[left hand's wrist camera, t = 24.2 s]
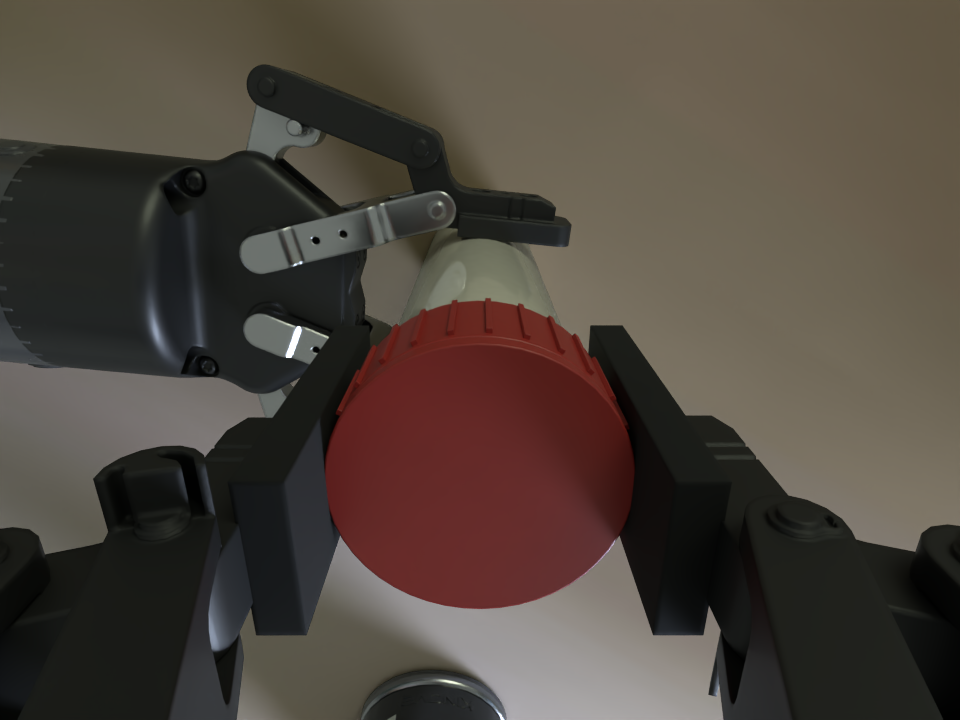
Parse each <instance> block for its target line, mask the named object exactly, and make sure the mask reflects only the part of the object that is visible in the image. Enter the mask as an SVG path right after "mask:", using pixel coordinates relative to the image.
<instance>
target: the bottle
mask: <svg viewBox="0 0 960 720" xmlns="http://www.w3.org/2000/svg"><path fill="white" fill-rule="evenodd" d="M457 233H458V229H453V228H443V229H440V230H438V231H437V232H436V234H435V236H434V238H433V240H432V243H431V245H430V248H429V250H428V253H427V255H426V258H425V260H424V263H423V265H422V268H421V270H420V273H419V275H418V278H417V280H416V283H415V285H414V288H413V290H412V293H411V295H410V298H409V300H408V303H407V305H406V308H405V310H404V313H403V315H402V318H401V320H400V323H399V325H398V326H400V325H402V324H403V323H405V322H406V321H407V320H409V319H411V318H413V317H415V316H417V315H419V313H420V310H422V309H426V311H428V310H431V309H434V308H436V307H439V306H443V305H447V304H451V303H452V300H458V302H466V301H485V298H491V301H496V302H502V303H508V304H513V305H517V306H518V303H520V304H523V305H524V308H526V309H529V310H532V311H534V312H536V313H539V314H541V315H543V316H545V317H548V316H549V315H550V316H552V317H553V318H554V320H555V323H557V324H558V325H560V326H561V324H560V321H559V319H558V316H557V314H556V311H555V309H554V306H553V304H552V301H551V299H550V296H549V294H548V291H547V289H546V286H545V284H544V282H543V279H542V277H541V274H540V272H539V269H538V267H537V264H536V262H535V259H534V257H533V254H532V252H531V249H530V247H529V244H526V243H516V242H506V241H496V240H489V239H476V238H466V237H457ZM561 327H562V326H561Z"/></svg>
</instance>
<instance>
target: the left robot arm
mask: <svg viewBox="0 0 960 720" xmlns="http://www.w3.org/2000/svg"><path fill="white" fill-rule="evenodd" d="M370 349H371V345H370V331H369V326H336V328H335V329H334V331H333V332H332V334H331V335H330V336H329V338H328V339H327V341H326V342H325V344H324V345H323V346H322V348H321V349H320V351H319V352H318V354H317V355H316V356H315V358H314V359H313V361H312V362H311V363H310V365H309V366H308V368H307V369H306V371H305V372H304V373H303V375H302V376H301V378H300V379H299V381H298V382H297V383H296V385H295V386H294V388H293V389H292V391H291V392H290V393H289V395H288V396H287V398H286V399H285V401H284V402H283V403H282V405H281V406H280V408H279V409H278V411H277V412H276V413H275V415H274V416H273V418H247V419H245V420H244V421H242V422H240V423H239V424H237V425H235V426H234V427H232V428H230V429H229V430H227V431H226V432H225V434H224V435H223V436H222V437H221V438H220V440H219V441H218V442H217V443H216V445H215V448H214V449H211V451H210V452H209V453H208V454H207V456H206V457H205V458H204V455H203V454H202V453H200V452H199V451H198V450H196V449H194V448H189V447H184V446H161V447H156V448H151V449H146V450H141V451H138V452H135V453H133V454H130V455H127V456H125V457H122V458H120V459H118V460H116V461H114V462H113V463H111V464H109V465H108V466H106V467H104V468H103V469H102V470H101V471H100V472H99V473H98V474H97V475H96V476H95V477H94V478H93V480H94V483H95V487H96V490H97V494H98V497H99V501H100V504H101V508H102V511H103V515H104V518H105V522H106V525H107V529H108V534H107V536H106V538H105V540H104V542H103V543H99V544H95V545H91V546H86V547H81V548H76V549H71V550H66V551H61V552H56V553H51V554H46V555H45V553H44V550H43V548H42V545H41V542H40V539H39V536H38V535H36V534H35V533H34V532H32V531H31V530H30V529H22V528H14V527H11V528H3V529H0V720H237V712H238V703H239V695H240V686H241V678H242V669H243V661H244V654H243V648H242V642H241V637H240V632H239V631H240V629H241V627H242V625H243V623H244V621H245V619H246V617H247V615H248V612H249V610H250V608H251V610H252V615H253V621H254V626H255V631H256V635H307V632H308V629H309V626H310V623H311V620H312V617H313V614H314V611H315V608H316V605H317V602H318V599H319V596H320V593H321V590H322V587H323V584H324V582H325V579H326V576H327V573H328V570H329V567H330V564H331V561H332V558H333V555H334V552H335V549H336V546H337V543H338V540H339V537H340V534H339V532H338V530H337V528H336V526H335V524H334V522H333V519H332V516H331V514H330V511H329V504H328V496H327V487H326V478H325V455H326V451H327V447H328V443H329V439H330V437H331V434H332V432H333V430H334V427H335V425H336V423H337V420H338V418H339V415H336V411H337V409H338V407H339V405H340V403H341V401H342V399H343V397H344V395H345V393H346V391H347V389H348V387H349V385H350V383H351V381H352V379H353V377H354V375H355V373H356V371H357V370H360V369H361V367H362V365H363V363H364V361H365V359H366V357H367V355H368V353H369V351H370ZM588 354H589V356H590V357H591V358H593V357H596V359H597V361H598V363H599V365H600V367H601V369H602V371H603V373H604V375H605V377H606V379H607V381H608V383H609V385H610V387H611V389H612V391H613V393H614V395H615V397H616V401H617V403H618V405H619V407H620V409H621V411H622V413H623V415H624V417H625V419H626V421H627V423H628V425H629V430H627V433H628V435H629V438H630V442H631V445H632V449H633V452H634V460H635V474H634V483H633V492H632V501H631V508H630V512H629V515H628V518H627V521H626V523H625V525H624V527H623V529H622V531H621V533H620V538H621V541H622V544H623V547H624V550H625V553H626V556H627V559H628V562H629V565H630V568H631V571H632V574H633V577H634V580H635V583H636V586H637V589H638V592H639V595H640V598H641V601H642V604H643V606H644V609H645V612H646V615H647V618H648V621H649V624H650V627H651V630H652V633H653V635H703V634H704V629H705V623H706V618H707V613H708V607H709V606H710V608H711V610H712V612H713V615H714V617H715V619H716V621H717V623H718V625H719V627H720V629H721V632H720V637H719V642H718V647H717V652H716V657H715V662H714V667H713V672H712V677H711V682H710V688H709V694H708V695H712V696H716V697H717V692H718V687H719V685H720V693H721V702H722V710H723V719H724V720H960V526H955V525H940V526H932V527H930V528H928V529H927V530H926V531H924V532H923V533H922V534H921V537H920V540H919V543H918V546H917V549H916V552H913V551H908V550H903V549H898V548H893V547H887V546H882V545H877V544H872V543H867V542H863V541H859V540H856V539H855V537H854V535H853V533H852V531H851V530H850V528H849V527H848V526H847V525H846V523H845V522H844V521H843V520H842V519H841V518H840V517H838V516H837V515H835V514H834V513H833V512H831V511H830V510H828V509H827V508H825V507H822V506H820V505H818V504H815V503H813V502H811V501H808V500H805V499H801V498H797V497H792V496H788V495H787V493H786V492H785V491H784V490H783V489H782V487H781V486H780V485H779V484H778V483H777V481H776V480H775V479H774V478H773V476H772V475H771V474H770V473H769V472H768V470H767V469H766V468H765V467H764V466H763V464H762V463H761V462H760V461H759V460H756V456H755V455H754V453H753V452H752V451H751V450H750V449H749V447H746V446H745V443H744V441H743V440H742V439H741V438H740V437H739V435H738V434H737V433H736V432H735V430H734V429H733V428H731V427H729V426H728V425H726V424H724V423H723V422H721V421H720V420H718V419H716V418H715V417H713V416H686V415H685V414H684V413H683V411H682V410H681V408H680V407H679V405H678V404H677V403H676V401H675V400H674V398H673V397H672V396H671V394H670V393H669V391H668V390H667V388H666V387H665V386H664V384H663V383H662V381H661V380H660V378H659V377H658V376H657V374H656V373H655V371H654V370H653V368H652V367H651V366H650V364H649V363H648V361H647V360H646V358H645V357H644V356H643V354H642V353H641V351H640V350H639V348H638V347H637V346H636V344H635V343H634V341H633V340H632V338H631V337H630V336H629V334H628V333H627V331H626V330H625V328H624V327H623V326H590V339H589V352H588Z"/></svg>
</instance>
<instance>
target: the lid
mask: <svg viewBox="0 0 960 720" xmlns="http://www.w3.org/2000/svg"><path fill="white" fill-rule="evenodd" d="M336 415H339V418H338V420H337V423H336V425H335V427H334V430H333V432H332V434H331V437H330V439H329V443H328V447H327V451H326V455H325V478H326V487H327V496H328V504H329V511H330V514H331V516H332V519H333V522H334V524H335V526H336V528H337V530H338V532H339V534H340V535H341V537H342V539H343V541H344V542H345V543H346V545H347V546H348V547H349V549H350V550H351V551H352V553H353V554H354V555H355V556H356V557H357V558H358V559H359V560H360V561H361V562H362V563H363V564H364V565H365V566H366V567H367V568H368V569H369V570H370V571H372V572H373V573H374V574H375V575H377V576H378V577H379V578H381V579H382V580H384V581H385V582H387V583H388V584H390V585H392V586H393V587H395V588H397V589H399V590H401V591H403V592H405V593H407V594H409V595H412V596H414V597H417V598H420V599H423V600H425V601H429V602H433V603H437V604H441V605H445V606H451V607H459V608H472V609H488V608H502V607H508V606H514V605H519V604H523V603H527V602H530V601H534V600H537V599H540V598H542V597H545V596H548V595H550V594H553V593H555V592H557V591H559V590H560V589H562V588H564V587H566V586H568V585H570V584H571V583H573V582H574V581H576V580H577V579H579V578H580V577H582V576H583V575H584V574H586V573H587V572H588V571H589V570H590V569H591V568H593V567H594V566H595V565H596V564H597V563H598V562H599V561H600V560H601V559H602V558H603V557H604V555H605V554H606V553H607V552H608V551H609V550H610V548H611V547H612V545H613V544H614V542H615V541H616V540H617V538H618V537H619V535H620V533H621V531H622V529H623V527H624V525H625V523H626V521H627V518H628V515H629V512H630V508H631V501H632V492H633V483H634V474H635V460H634V452H633V449H632V445H631V442H630V438H629V435H628V433H627V430H629V425H628V423H627V421H626V419H625V417H624V415H623V413H622V411H621V409H620V407H619V405H618V403H617V401H616V397H615V395H614V393H613V391H612V389H611V387H610V385H609V383H608V381H607V379H606V377H605V375H604V373H603V371H602V369H601V367H600V365H599V363H598V361H597V359H596V357H593V358H591V357H590V356H589V354H588V353H587V351H586V350H585V349H584V348H583V345H582V343H581V341H580V339H579V337H578V336H577V335H576V334H574V335H573V336H572V335H571V334H570V333H568V332H567V331H566V330H565V329H564V328H563V327H561V326H560V325H558V324H557V323H555V320H554V318H553V317H552V316H550V315H549V316H548V317H545V316H543V315H541V314H539V313H536V312H534V311H532V310H529V309H526V308H524V305H523V304H520V303H518V306H517V305H513V304H508V303H502V302H496V301H491V298H485V301H466V302H458V300H452V303H451V304H447V305H443V306H439V307H436V308H434V309H431V310H428V311H426V309H422V310H420V313H419V315H417V316H415V317H413V318H411V319H409V320H407V321H406V322H405V323H403V324H402V325H400V326H398V324H396V325H394V326H393V327H392V329H391V332H390V334H389V335H388V336H387V337H386V338H384V339H383V340H382V341H381V343H380V344H379V345H378V346H377V347H376V346H375V345H373V346H372V347H371V349H370V351H369V353H368V355H367V357H366V359H365V361H364V363H363V365H362V367H361V369H360V370H357V371H356V373H355V375H354V377H353V379H352V381H351V383H350V385H349V387H348V389H347V391H346V393H345V395H344V397H343V399H342V401H341V403H340V405H339V407H338V409H337V411H336Z"/></svg>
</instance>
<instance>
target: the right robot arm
mask: <svg viewBox="0 0 960 720" xmlns="http://www.w3.org/2000/svg"><path fill="white" fill-rule="evenodd" d="M247 90H248V93H249V96H250V97H251V99H252V100H253V101H254V102H255V103H256V108H255V112H254V117H253V121H252V126H251V130H250V135H249V140H248V144H247V149H246V150H245V151H239V152H236V153H233V154H231V155H229V156H227V157H225V158H223V159H221V160H200V159H191V158H181V157H172V156H162V155H153V154H143V153H134V152H124V151H114V150H105V149H96V148H86V147H76V146H64V145H55V144H46V143H37V142H28V141H19V140H9V139H0V361H4V362H15V363H25V364H28V365H32V366H34V367H38V368H61V367H70V368H81V369H92V370H102V371H113V372H124V373H135V374H146V375H157V376H168V377H180V378H194V377H217V378H221V379H224V380H227V381H229V382H232V383H234V384H236V385H237V386H239V387H241V388H242V389H244V390H246V391H249V392H252V393H256V394H258V396H259V399H260V402H261V405H262V408H263V411H264V414H265V417H266V418H273V416H274V415H275V413H276V412H277V411H278V409H279V408H280V406H281V405H282V403H283V402H284V401H285V399H286V398H287V396H288V395H289V393H290V392H291V391H292V389H293V388H294V387H293V386H292V385H291V384H290V383H291V382H293V381H295V380H296V379H298V378H300V377H301V376H302V375H303V373H304V372H305V371H306V369H307V368H308V366H309V365H310V363H311V362H312V361H313V359H314V358H315V356H316V355H317V354H318V352H319V351H320V349H321V348H322V346H323V345H324V344H325V342H326V341H327V339H328V338H329V336H330V335H331V334H332V332H333V331H334V329H335V328H336V326H369V331H370V345H371V347H372V346H373V345H375V346H376V347H377V346H378V345H379V344H380V343H381V341H382V340H383V339H384V338H386V337H387V336H388V335H389V334H390V332H391V329H392V327H391V326H390V325H388V324H386V323H384V322H382V321H380V320H377V319H375V318H372V317H370V316H368V315H365V297H364V293H363V289H362V285H361V281H360V280H361V275H362V272H363V269H364V266H365V262H366V259H367V249H368V248H372V247H376V246H380V245H383V244H385V243H388V242H390V241H393V240H397V239H401V238H405V237H409V236H414V235H418V234H422V233H427V232H431V231H435V230H440V229H443V228H453V229H458V233H457V237H466V238H476V239H489V240H496V241H506V242H516V243H526V244H536V245H546V246H556V247H566V246H568V244H569V238H570V231H571V224H570V222H569V221H568V220H567V219H566V218H563V217H558V216H555V211H556V207H555V206H554V205H553V204H552V203H551V202H550V201H548V200H546V199H544V198H542V197H541V196H539V195H535V194H525V193H515V192H506V191H496V190H486V189H476V188H468V187H465V186H463V185H461V184H459V183H458V182H457V181H456V180H455V179H454V177H453V176H452V174H451V171H450V168H449V164H448V160H447V156H446V152H445V148H444V141H443V138H442V136H441V135H440V133H439V132H438V131H436V130H435V129H433V128H431V127H428V126H426V125H423V124H421V123H418V122H416V121H413V120H411V119H409V118H406V117H404V116H401V115H399V114H396V113H394V112H391V111H389V110H386V109H384V108H382V107H379V106H377V105H374V104H372V103H369V102H367V101H364V100H362V99H359V98H357V97H355V96H352V95H350V94H347V93H345V92H342V91H340V90H337V89H335V88H332V87H330V86H328V85H325V84H323V83H320V82H318V81H315V80H313V79H310V78H308V77H305V76H303V75H300V74H298V73H295V72H292V71H289V70H285V69H281V68H278V67H274V66H270V65H259V66H257V67H255V68H254V69H253V70H252V71H251V72H250V73H249V75H248V78H247ZM326 133H327V134H330V135H332V136H335V137H337V138H340V139H342V140H345V141H347V142H350V143H352V144H355V145H357V146H360V147H362V148H365V149H367V150H370V151H373V152H375V153H378V154H380V155H383V156H385V157H388V158H390V159H393V160H395V161H398V162H400V163H403V164H405V165H407V168H408V171H409V175H410V178H411V182H412V185H413V189H414V190H410V191H406V192H402V193H397V194H393V195H385V196H380V197H376V198H372V199H367V200H363V201H359V202H355V203H351V204H346V205H342V206H339V205H338V204H336V203H335V202H334V201H333V200H332V199H331V198H329V197H328V196H327V195H326V194H325V193H323V192H322V191H321V190H320V189H319V188H318V187H316V186H315V185H314V184H313V183H312V182H310V181H309V180H308V179H307V178H306V177H305V176H303V175H302V174H301V173H300V172H299V171H297V170H296V169H295V168H294V167H293V166H291V165H290V164H289V163H288V162H287V161H286V160H284V159H283V156H284V154H285V152H286V151H287V150H288V149H289V148H291V147H292V146H295V147H300V148H306V147H313V146H317V145H319V144H320V143H321V142H322V141H323V140H324V138H325V136H326ZM361 720H507V718H506V713H505V710H504V707H503V705H502V703H501V702H500V700H499V699H498V697H497V696H496V695H495V694H494V693H493V692H492V691H491V690H490V689H489V688H487V687H486V686H485V685H483V684H482V683H480V682H478V681H477V680H475V679H472V678H470V677H468V676H465V675H462V674H458V673H455V672H449V671H442V670H422V671H415V672H410V673H406V674H402V675H399V676H397V677H394V678H392V679H390V680H388V681H386V682H385V683H383V684H382V685H380V686H379V687H378V688H377V689H376V690H375V691H374V692H373V693H372V694H371V695H370V696H369V698H368V699H367V701H366V703H365V705H364V707H363V711H362V715H361Z"/></svg>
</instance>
